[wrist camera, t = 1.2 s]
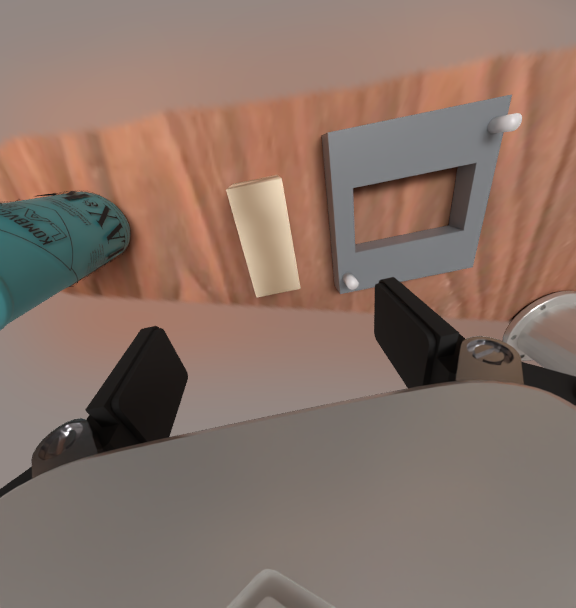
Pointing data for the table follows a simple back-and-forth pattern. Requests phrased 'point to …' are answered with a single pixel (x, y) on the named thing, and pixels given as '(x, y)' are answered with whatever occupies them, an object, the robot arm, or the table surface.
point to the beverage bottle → (54, 246)
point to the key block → (265, 234)
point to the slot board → (408, 162)
